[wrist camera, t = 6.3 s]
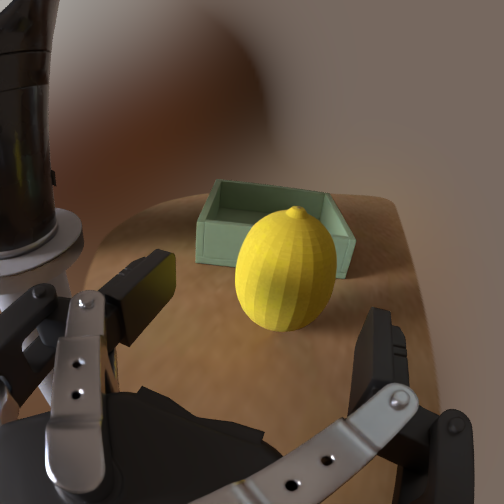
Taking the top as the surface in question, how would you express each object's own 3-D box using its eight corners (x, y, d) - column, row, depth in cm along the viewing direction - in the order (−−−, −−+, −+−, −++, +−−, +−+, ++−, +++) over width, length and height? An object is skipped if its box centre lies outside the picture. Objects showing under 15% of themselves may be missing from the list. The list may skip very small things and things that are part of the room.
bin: (195, 262, 25) (196, 221, 23) (214, 209, 35) (216, 178, 33) (345, 279, 25) (356, 240, 24) (322, 223, 35) (329, 193, 33)
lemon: (295, 374, 16) (334, 245, 12) (212, 331, 18) (220, 205, 15) (329, 320, 21) (363, 209, 17) (258, 289, 23) (275, 182, 19)
